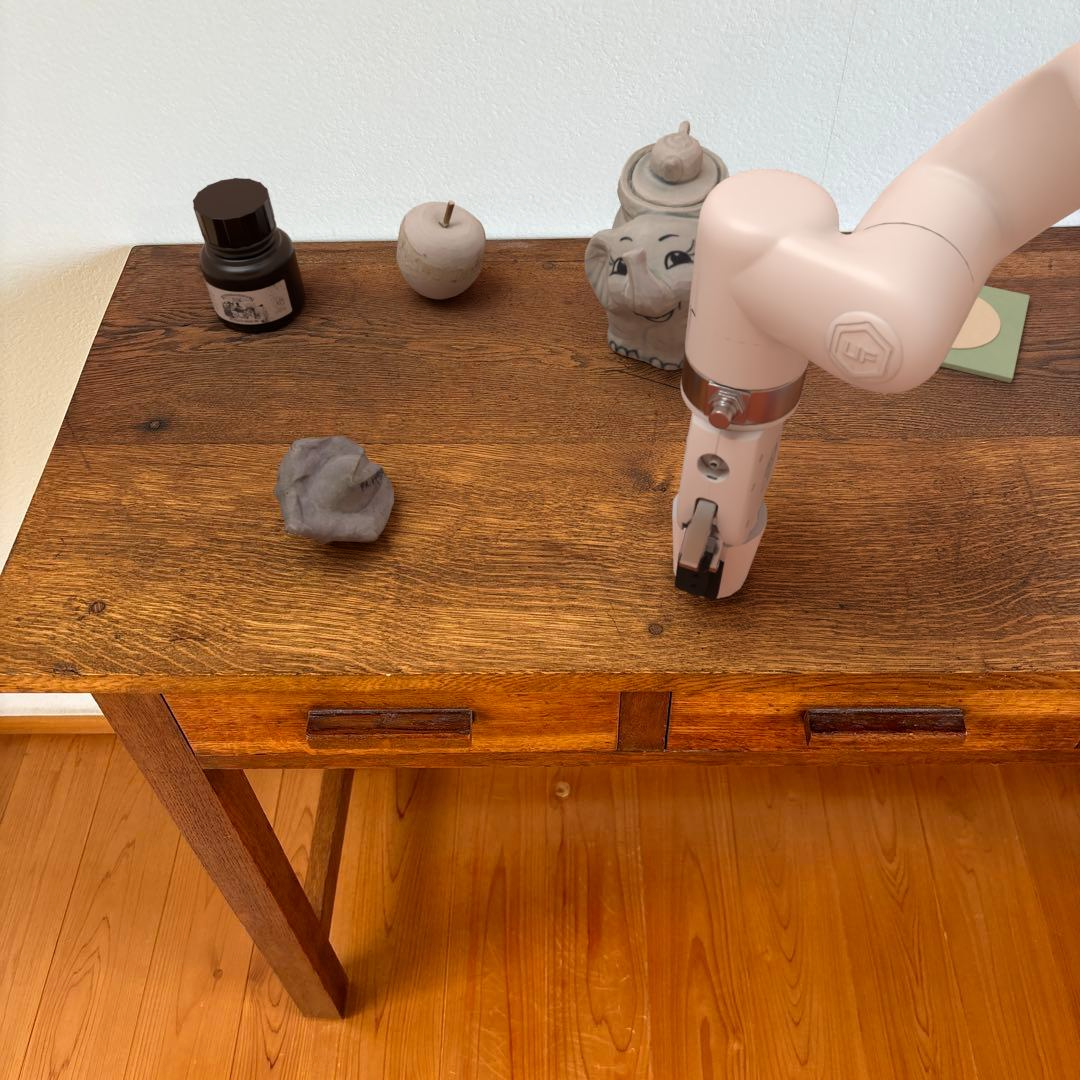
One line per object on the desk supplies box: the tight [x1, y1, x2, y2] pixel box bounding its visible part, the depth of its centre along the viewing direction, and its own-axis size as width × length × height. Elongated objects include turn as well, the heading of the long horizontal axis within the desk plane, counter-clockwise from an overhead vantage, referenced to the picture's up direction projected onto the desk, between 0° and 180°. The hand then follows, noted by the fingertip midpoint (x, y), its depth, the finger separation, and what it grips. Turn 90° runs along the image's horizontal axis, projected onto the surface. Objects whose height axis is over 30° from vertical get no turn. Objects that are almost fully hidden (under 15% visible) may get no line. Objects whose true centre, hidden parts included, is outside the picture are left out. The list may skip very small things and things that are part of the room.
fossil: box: [273, 435, 395, 545], centre depth 79 cm, size 11×9×8 cm
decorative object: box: [395, 200, 487, 300], centre depth 98 cm, size 9×9×10 cm
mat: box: [940, 285, 1031, 384], centre depth 96 cm, size 13×13×1 cm
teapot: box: [584, 120, 730, 371], centre depth 89 cm, size 16×15×19 cm
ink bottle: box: [192, 177, 306, 332], centre depth 96 cm, size 10×9×12 cm
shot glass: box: [671, 491, 768, 600], centre depth 76 cm, size 7×7×7 cm
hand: (712, 551), depth 77 cm, fingers open, 7 cm apart
